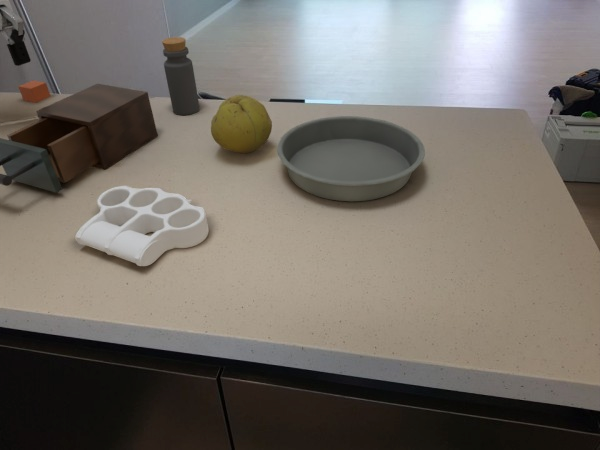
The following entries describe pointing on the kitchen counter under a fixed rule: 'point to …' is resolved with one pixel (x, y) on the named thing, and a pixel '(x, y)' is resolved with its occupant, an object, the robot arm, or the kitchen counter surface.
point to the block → (34, 91)
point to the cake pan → (350, 157)
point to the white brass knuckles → (143, 224)
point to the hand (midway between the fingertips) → (6, 60)
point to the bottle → (180, 77)
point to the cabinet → (108, 119)
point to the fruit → (241, 124)
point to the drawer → (47, 153)
